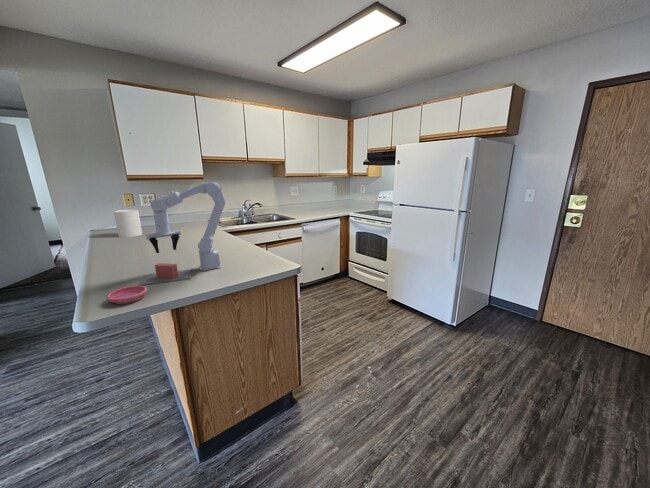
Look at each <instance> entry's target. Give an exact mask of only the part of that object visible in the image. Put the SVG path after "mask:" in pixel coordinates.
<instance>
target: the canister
mask: <svg viewBox="0 0 650 488" xmlns="http://www.w3.org/2000/svg"><path fill="white" fill-rule="evenodd" d="M113 216H114V220H115V225H116V230H117V235H118V237H119V238H130V237H131V238H132V237H137V236H139V237H140V236H142V235H143V229H142V225H141V219H140V211H139V209H118V210H114V211H113Z"/></svg>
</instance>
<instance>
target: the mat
mask: <svg viewBox="0 0 650 488" xmlns="http://www.w3.org/2000/svg"><path fill="white" fill-rule="evenodd" d="M191 276H192V270H191V269H188V270H181V271H179V270H178V277H176V278H174V279H170V278H158V277H157V276H156V273H155V274H148V275H143V277H142V279H141V280H140V282H139V284H138V285H139V286H149V285H156V284H164V283H170V282H177V281H185V280H190V279H191Z"/></svg>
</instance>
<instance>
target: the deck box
mask: <svg viewBox="0 0 650 488" xmlns="http://www.w3.org/2000/svg"><path fill="white" fill-rule="evenodd" d="M154 269H155V274H156V276H157V277H158V278H170V279H174V278H176V277H178V271H179V270H178V264H177V263H176V264H175V263H166V262H165V263H161V262H159V263H157V264H155V265H154Z"/></svg>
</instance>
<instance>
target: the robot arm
mask: <svg viewBox="0 0 650 488" xmlns="http://www.w3.org/2000/svg"><path fill="white" fill-rule="evenodd" d="M197 194H207V195H209V197H211V199H212V201H213V202H214V206H213V207H212V211H211V213H210V217H209V220H208V222H207V225H206V228H205V231H204V234H203V237H202V238H200V241H199V242H198V245H197V247H198V254H199V255H198V256H199V264H200V265H199V271H207V270H214V269H220V268H221V260H220V253H219V250H218V249H215V248H213V245H214V237H215V234H216V231H217V228H218V225H219V223H220V219H221V216H222V213H223V210H224V208H225V206H226V205H225V204H226V199H225V195H224V191H223V189H222V187H221V185H220V184H219V183H217V182H216V181H210V182H206V183H202V184H198V185H194V186H193V187H191V188H189V189H186V190H184V191H181V192H179V191H173V190H172V191H169V193H168V194H166V195H160V196H159V197H160V198H154V199H153V200H152V201H151V202H150V207H151V209H152V211H153V219H154V225H155V231H156V232H155V233H149V234H145V239H146V240H148V241H149V242H150V244H151V245H152V246H153V248H154V250H155V253H156V254H160V249H159V244H158V243H159V242H158V241H159V240H158V238H164V237H170V238H171V241H172V242H171V243H172V249H173V250H174V251H177V245H178V241H179V239H180V236H181V235H182V234H181V232H182V231H181V230H171V226H170V221H169V215H168V208H169V209H170V208H172V207H174V206H177V205H179V204H182V203H183V201H184V199H187V198H189V197H192V196H195V195H197Z"/></svg>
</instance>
